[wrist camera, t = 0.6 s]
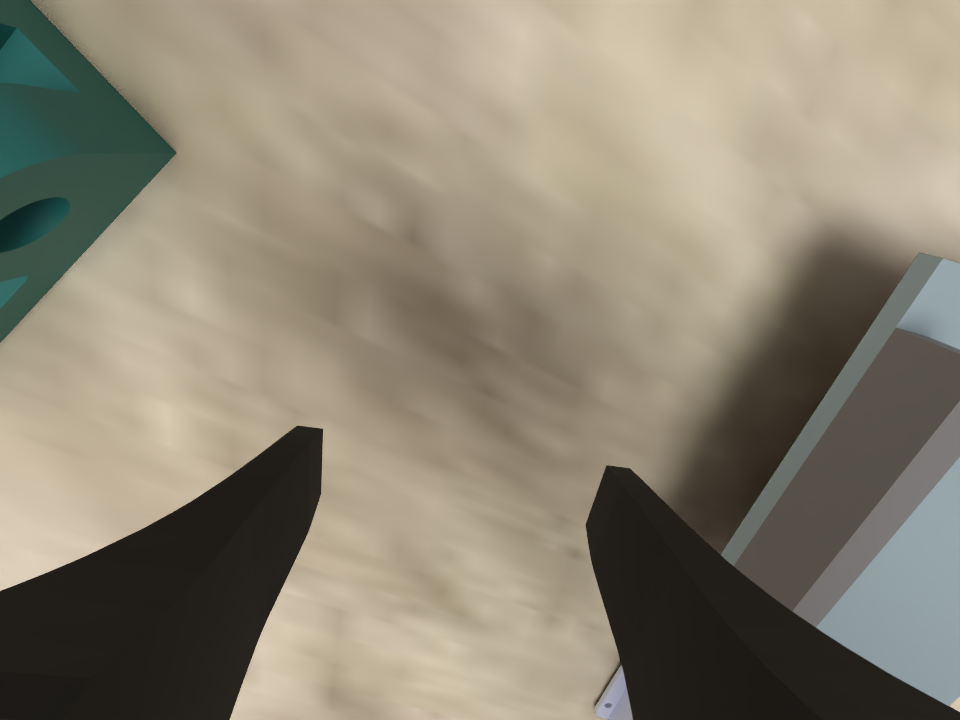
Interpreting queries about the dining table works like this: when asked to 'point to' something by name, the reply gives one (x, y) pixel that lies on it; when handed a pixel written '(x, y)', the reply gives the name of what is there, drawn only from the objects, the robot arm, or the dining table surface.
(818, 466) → the lid
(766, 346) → the dining table surface
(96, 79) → the bracket
